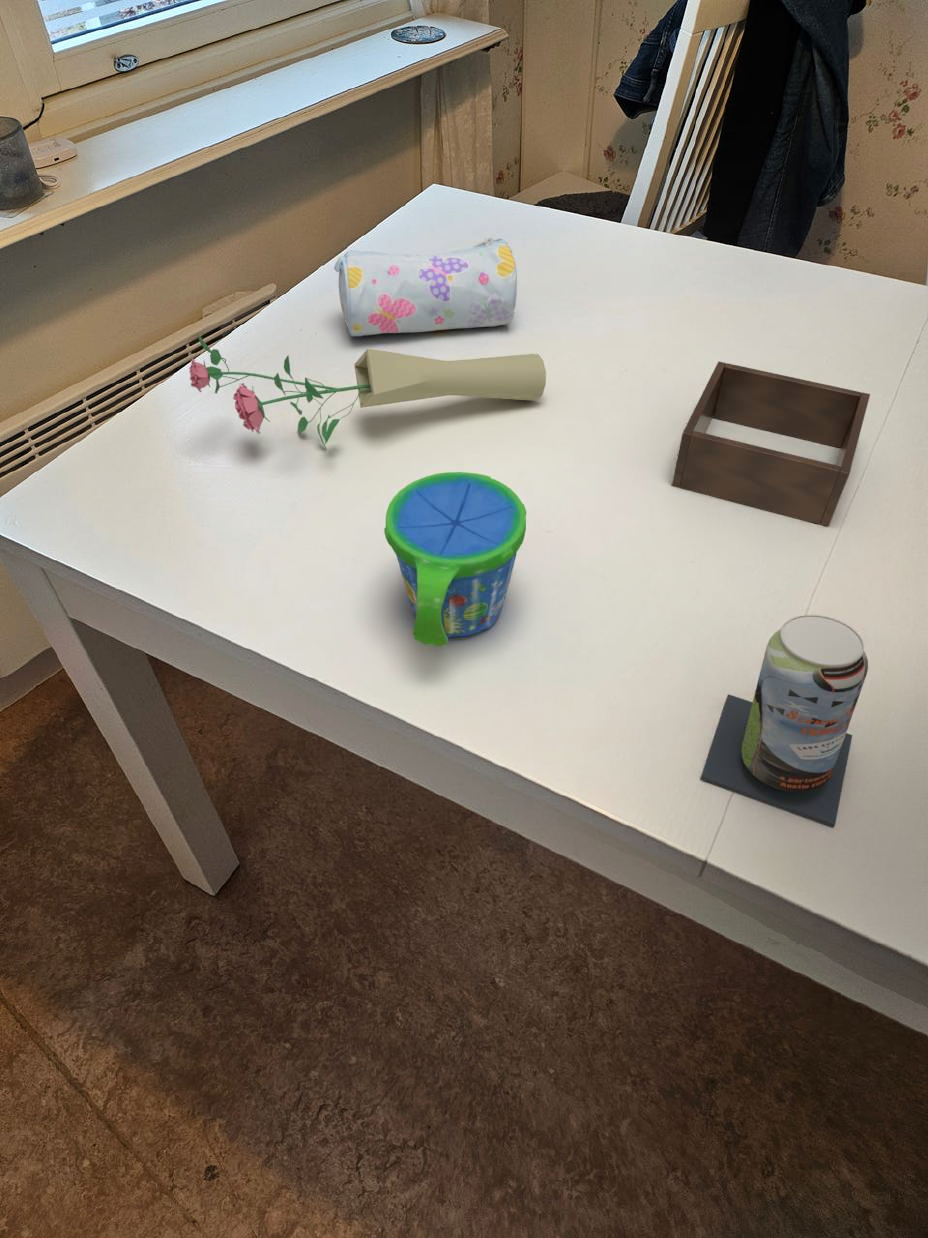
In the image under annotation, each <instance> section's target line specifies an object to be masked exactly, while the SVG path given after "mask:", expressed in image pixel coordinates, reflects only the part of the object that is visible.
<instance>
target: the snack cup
mask: <svg viewBox="0 0 928 1238" xmlns="http://www.w3.org/2000/svg"><path fill="white" fill-rule="evenodd" d="M526 530H527V509H526V507H525V504H524V503H523V502H522V499H521V498H519V496H518V495H517V493H515V491H514V490H513V489H511V488H510V487H509V486H507V485H506V484H504V483H503V482H500V481H499V480H497V479H494V478H492V477H491V476H490V475H487V474H481V473H474V472H467V471H466V472H465V471H450V472H449V471H447V472H440V473H434V474H431V475H426V476H424V477H421V478H419V479H417V480H414V481H413V482H411V483H409V484H407V485H405V486H404V487H403V488H401V489H400V490H399V491H398V492H397V493H396V495H395V496H393V498H392V499H391V501H390V502H389V504H388V506H387V509H386V514H385V527H384V528H383V531H384V535H385V539H386V542H387V543H388V546H390V547H391V549H392V550H393V552H394V554H395V556H396V560H397V562H398V565H399V569H400V573H401V577H402V580H403V583H404V587H405V590H406V594H407V596H408V600H409V603H410V605H411V608H412V610H413V614H414V618H415V620H414V625H413V629H412V636H413V637H414V640H416V641H417V642H419V643H420V644H423V645H427V646H433V647H443V646H446V645H447V644H448V642H449V638H452V637H466V636H471V635H476V634H478V633H480V632H481V631H483V630H488V629H490V628H491V627H492V626H494V625H495V622H496V621H497V619H498V617H499V616H500V615H501V613H502V610H503V608H504V604H505V600H506V597H507V593H508V588H509V585H510V582H511V577H512V574H513V570H514V565H515V561H516V558H517V552H518V551H519V550H520V548H521V546H522V544H523V542H524V540H525V535H526V532H527V531H526Z"/></svg>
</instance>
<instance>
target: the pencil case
mask: <svg viewBox="0 0 928 1238" xmlns="http://www.w3.org/2000/svg"><path fill="white" fill-rule="evenodd" d="M508 244H509V242H508V241H506V240H504V239H503V238H495V239H494V238H493V237H488V238H485V239H484V241H481V242H480V243H478V244H476V245H474V246H472V247H467V248H462V249H457V250H453V251H449V252H446V253H441V254H436V255H435V254H433V255H421V254H420V255H419V254H416V255H415V254H396V253H395V254H393V253H384V252H378V251H364V250H352V249H350V250H347V251H346V252H345V253H344V254H343V255H340V256H339V257H338V258H337V260H336V262H335V265H334V266H333V269H334V271H335V272H336V273H338V294H339V301H340V307H341V311H342V314H343V317H344V321H345V324H346V326H347V333H348V334H349V335H350V336H351V337H363V336H374V335H380V334H397V333H398V334H401V333H427V332H433V331H444V330H454V329H455V330H457V329H472V328H473V329H474V328H485V327H486V328H487V327H498V326H504V325H509V324H511V323H512V321H513V319H514V316H515V310H516V309H515V308H516V305H517V304H516V303H517V294H518V271H517V264H516V260H515V257H514V254H513V249H512V247H510V245H508Z"/></svg>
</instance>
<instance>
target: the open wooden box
mask: <svg viewBox="0 0 928 1238" xmlns="http://www.w3.org/2000/svg"><path fill="white" fill-rule="evenodd" d="M870 397H871V394H870V393H867V392H863V391H857V390H854V389H847V388H844V387H839V386H834V385H829V384H825V383H820V382H815V381H812V380H807V379H803V378H797V377H793V376H788V375H784V374H780V373H779V374H778V373H774V372H771V371H765V370H761V369H756V368H751V367H746V366H742V365H737V364H732V363H728V362H723V361H717V363H716V365H715V367H714V370H713V372H712V373H711V375H710V378H709V379H708V381H707V384H706V385H705V387H704V389H703V392H702V394H701V395H700V397H699V399H698V400H697V404H696V405H695V407H694V409H693V412H692V414H691V416H690V417H689V418H688V422H686V425H685V428H684V429H683V431H682V434H681V438H680V442H679V448H678V452H677V458H676V462H675V467H674V472H673V478H672V480H671V486H672V487H676V488H680V489H683V490H687V491H691V492H695V493H699V494H702V495H706V496H711V497H714V498H718V499H720V500H725V501H729V502H733V503H737V504H739V505H740V504H741V505H745V506H748V507H751V508H755V509H759V510H762V511H763V510H764V511H767V512H771V513H775V514H779V515H783V516H785V517H790V518H794V519H798V520H801V521H806V522H809V523H812V524H813V523H814V524H817V525H820V526H824V527H829V526H830V525H831V523H832V519H833V517H834V514H835V512H836V509H837V507H838V504H839V502H840V499H841V496H842V494H843V492H844V489H845V486H846V484H847V480H848V478H849V476H850V472H851V469H852V465H853V462H854V458H855V453H856V450H857V447H858V444H859V443H858V442H859V440H860V435H861V431H862V428H863V423H864V421H865V416H866V411H867V408H868V405H869V400H870ZM713 419H717V420H721V421H725V422H729V423H732V424H733V423H734V424H738V425H742V426H746V427H751V428H755V429H759V430H762V431H767V432H771V433H775V434H780V435H785V436H789V437H793V438H797V439H801V440H805V441H810V442H815V443H819V444H823V445H827V446H832V447H834V448H839V449H840V450H839V455H838V458H837V462H836V464H833V463H829V462H825V461H820V460H817V459H812V458H808V457H804V456H800V455H796V454H792V453H788V452H783V451H780V450H779V451H778V450H775V449H771V448H766V447H763V446H758V445H755V444H750V443H746V442H742V441H739V440H738V441H737V440H734V439H729V438H726V437H721V436H717V435H713V434H709V433H707V430H708V428H709V426H710V424H711V422H712V420H713Z"/></svg>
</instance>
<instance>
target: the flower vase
mask: <svg viewBox="0 0 928 1238" xmlns="http://www.w3.org/2000/svg"><path fill="white" fill-rule="evenodd" d="M197 338H198V340H199V341H198V342H200V345H201V346H202V347H203V349H204V350H205V351H206V352H207V353H209V359H210V363H211V364H212V365H214V366H212V365H211V366H206V362H205V361H203V364H202V363H200V362H198V361H196V359H195V358H192V359H191V362H190V363H191V364H190V366H189V367H188V370H189V371H188V372H189V374H190V376H189V380H190V386H191V387H192V388H195V389H197V390H198V392H200V393H202V392H203V391H202V389H203V388H206V387H207V386H208V387H209V388H211V386H210V381H211V378H212V379H213V380H215V391H214V393H215V394H217V393H218V392H219V390H220V388H222V387H225V386H228V385H231V384H233V383H236V382H238V381H241V380H243V379H245V378H247V377H250V376H251V377H257V378H262V379H267V380H272V381H273V382H274V385H275V386H276V388H278V389H279V390H280V391H281V392H282V393H283V395H284V396H281V397H278V398H273V399H269V400H266V401H261V400H260V398H259V396H257V395H256V393H255V390H254V386H253V385H252V386H251V387H252V388H251V389H249V388H248V386H247V385H245V383H244V382H242V383H240V382H239V386H238V388H237V389H236V390H235V391H236V392H235V393H234V394H233V397H232V399H233V400H234V401H235V402H234V408H235V410H236V412H237V414H238V418H239V419H240V420H243V424H242V426H243V427H245V429H247V430H250V431H251V432H252V433H254V431H255V432H256V433H257V434H261V432H260V430H261V426H262V424H263V421H264V419H265V420H266V421H268V422H269V423H270V422H271V421H270V419H268V418H267V417H266V414H265V409H264V407H263V406H266V405H269V404H270V405H271V404H274V403H278V402H282V401H283V402H284V401H289V400H293V399H297V401H296V403H295V402H292V401H289V404H290V406H292V407H293V409H295V410H296V411H297V413H298V415H299V416H302V415H303V411H302V410H301V409H300V408H299V407H298V403H299V400H300V398H306V401H307V402H308V404H310V403H311V402H312V401H313V400H315V401H316V402H317V403H318V404H319V405H320V407H319V408H318V410H317V411H316V413H315V414H314V416H313V417H312V418H311V419H310V421H308V419H307V418H306V417H305V416H302V417H300V419H299V421H298V422H297V430H296V432H297V434H298V435H299V434H301V433H303V432H305V431H306V429H307V427H308V425H309V423H311V422H312V421H313V420H314V419H315V417H316V416H317V414H318V413H319V417H320V419H322V413H321V412H320V411H321V408H322V407H323V406H324V405H325V403H326V402H327V401H328V400H329V399H330V398H331V397H332V396H333V395H334V394H336V393H339V392H347V391H353V390H354V391H355V390H357V392H358V394H357V397H356V398H355V400H354V401H353V402H352V403H351V404H350V405H348V406H347V407H345V408H342V409H340V410H339V411H337V412H335V413H334V414H332V415H330V414H328V415H327V418H326V420H325V421H324V422H323V424H322V422H321V421H322V420H320V421H319V423H318V424H317V427H316V429H317V433H318V436H319V438H320V441H321V443H322V445H323V446H324V449H325V450H326V451H328V449H327V446H326V445H327V443H328V441H329V439H330V438H331V436H332V434H333V432H334V430H335V428H336V427H337V425H338V424H339V422H340V420H341V419H343V418H345V417H348V415H349V414H350V413H351V412H352V410H353V407H354V405H355V403H356V401H357V400H359V401H358V402H359V407H360V409H363V408H369V407H376V406H377V407H378V406H384V405H390V404H397V403H404V402H405V403H406V402H411V401H418V400H419V401H420V400H426V399H433V398H440V397H446V396H455V397H456V396H459V397H473V398H487V399H502V400H504V399H505V400H518V401H534V402H537V401H538V400H539V399H540V398H541V397H542V396H543V394H544V390H545V388H546V382H547V381H546V380H547V371H546V366H545V362H544V359H543V358H542V357H541V355H540V354H539V353H526V354H515V355H504V356H493V357H480V358H471V359H457V360H442V359H436V358H429V357H423V356H416V355H410V354H406V353H405V354H404V353H399V352H398V353H397V352H391V351H387V350H379V349H373V348H367V349H366V350H365V351H364V352H363V353H362V354H361V355H360V357H359V358H358V359H357V361H356V362H354V364H353V365H354V371H355V378H356V385H352V386H345V387H332V386H327V385H324V384H323V383H321V382H320V381H316V380H312V379H310V378H307V377H306V376H305V377H304V382H303V381H295V380H294V378H293V376H292V375H291V365H290V364H291V363H290V355H289V354H287V356H286V357H285V359H284V361H283V369H284V372H285V373H286V375H288V376H289V377H290V379H292V380H290V379H284V378H281V377H280V375H279V372H277V373H276V374H275V376H268V375H264V374H260V373H255V372H253V373H252V372H244V371H230V369H229V366H228V364H227V359H226V358H224V357H222V354H221V353H220V351H219V349H216V348H213V349H210V348H209V346H208V345H207V343H206V341H205V340H203V337H202V336H200V334H199V333H197ZM221 361H223V363H224V364H225V366H226V368H227V371H222V369H221V368H219V367H216V366H218V365H219V364H220V362H221ZM226 375H228V376H226ZM229 375H238V376H243V377H241V378H235V377H231V376H229ZM221 378H228V379H231V380H233V381H231V382H229V383H226V384H223V385H220V381H219V380H221ZM311 382H315V383H317V384H315V383H311ZM283 383H288V384H293V385H294V388H295V389H296V390H297V391H294V390H284V387H283ZM297 385H300V386H304V388H305V391H300V390H299V389H298V387H297ZM316 388H320V389H323V390H317V389H316ZM286 393H297V394H292V395H286ZM324 394H330V395H329V396H328V397H327V398H326V399H325V400H324V397H323V396H322V395H324ZM316 398H317V399H322V400H324V401H323V403H321V402H319V401H318V400H317V399H316ZM349 407H351V409H350V411H349V412H348V413H347V414H346V415H343V416H342V417H341V418H333V419H332V420H331V421H330V422H329V424H328V420H329V419H331V418H332V417H334V416H335V415H337V414H338V413H340V412H342V411H344V410H346V409H348V408H349ZM321 424H322V426H320V425H321ZM320 427H321V429H320ZM322 437H323V438H322ZM324 441H325V442H324Z"/></svg>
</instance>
